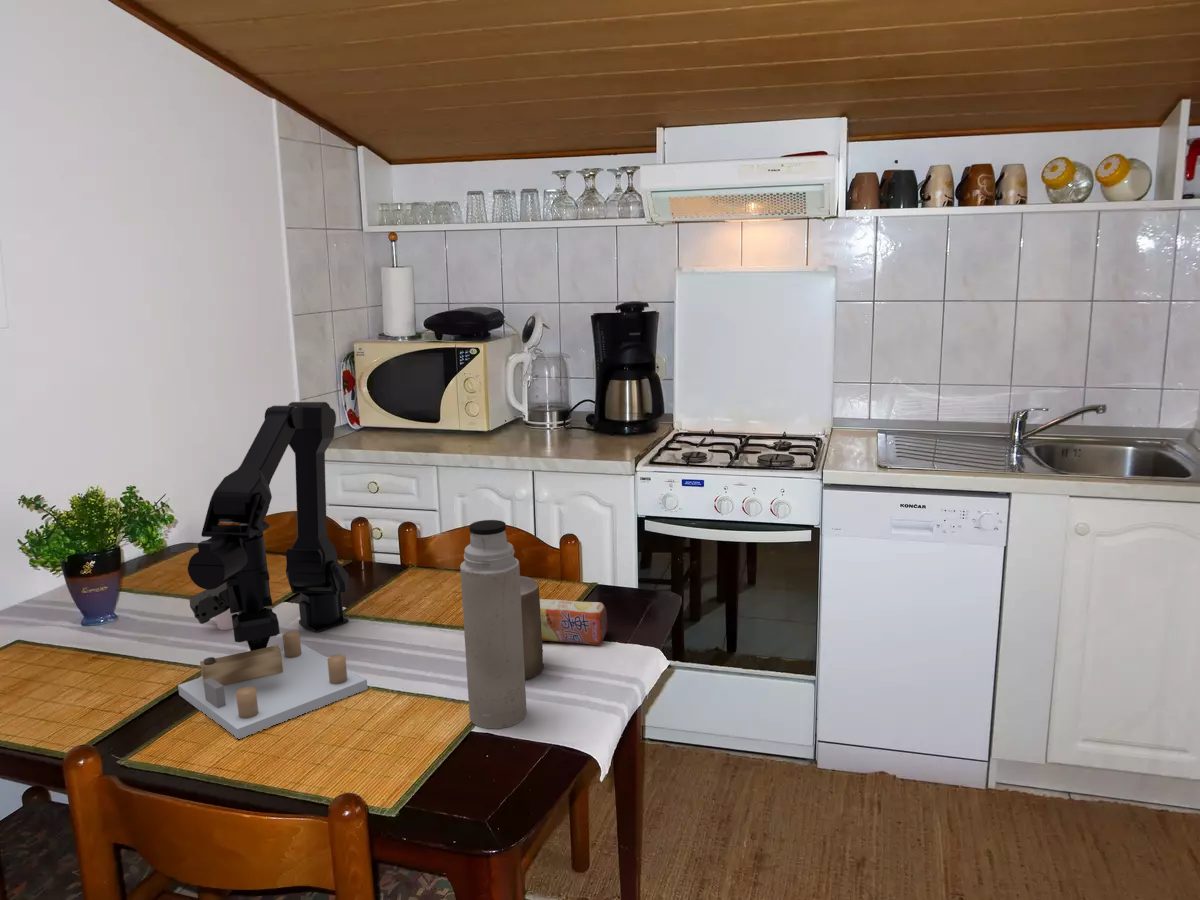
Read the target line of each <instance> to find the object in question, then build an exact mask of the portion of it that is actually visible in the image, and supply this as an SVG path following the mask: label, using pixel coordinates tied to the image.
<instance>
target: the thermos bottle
mask: <svg viewBox="0 0 1200 900" xmlns="http://www.w3.org/2000/svg"><path fill="white" fill-rule="evenodd" d="M468 527H469V532H470V535H469V537H470V538H469V540H470V542H469V544H467V546H466V547H465V548H464V554H463V559H464V561H462V562H461V564H460V567H459V568H460V581H461V582H460V584H461V600H462V617H463V632H464V633H463V635H464V647H465V649H464V650H465V663H466V664H465V665H466V666H465V667H466V679H467V680H466V681H467V696H468V697H467V698H468V712H469V720H470V722H471V723H472V724H473V725H475V726H477V727H480V728H483V729H489V730H490V729H492V730H493V729H504V728H509V727H512V726H515V725H516V724H518V723H521V721H523V720H525V717H526V716H527V693H526V679H525V671H524V650H523V630H522V609H521V589H520V576H521V573H520V572H521V571H520V561H519V560H518V558H516V557H515V556H514V554H515V549H514V546H513V545H514V544H512V543H510V542H509V541H508V539H507V533H506V529H507V524H506V522H504V521H503V520H498V519H484V520H478V521H474V522H472V523H470V524H469V526H468Z"/></svg>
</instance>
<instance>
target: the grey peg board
mask: <svg viewBox="0 0 1200 900" xmlns="http://www.w3.org/2000/svg"><path fill="white" fill-rule="evenodd" d="M300 634H301V633H300V632H299V631H297V630H291V631H286V632H284V633H283V634H282V642H283V649H280V650H281V657H282V666H283V672H280V673H276V674H271V675H267V676H262V677H258V678H254V679H249V680H245V681H240V682H236V683H232V684H227V685H222V684H220V683H219V682H217V681H216V680H214V679H213V678H209V679H206V680H203V681H204V686H203V681H202V676H201V677H197V678H195V679H192V680H190V681H186V682H182V683H180V684H177V688H178V689H177V690H178V694H179V696H180V697H181V698H183V699H184V700H185V701H186V702H188V703H189V704H190V705H192V706H194V708H196V709H197V710H198V711H200V712H201V711H202V712H203V713H202V712H201V713H202V714H203V715H205V714H206V715H207V718H209V717H210V718H211V719H210V718H209V719H210V720H212V719H213V720H214V721H215V722H217V723H218V724H219V725H221V726H222V727H223V728H225V729H226V730H227V731H229V732H230V733H231V734H233V735H234V736H235V737H236V738H235V737H234V736H233V735H232V736H233V737H234V738H235V739H237V738H238V739H239V738H243V737H245V736H247V735H250V734H253V733H255V732H257V731H260V730H263V729H264V728H268V727H271V726H272V725H275V724H278V723H280V722H283V721H286V722H288V721H287V720H288V719H291V718H294V717H296V718H298V717H297V716H299V715H301V716H303V715H302V714H304V713H306V714H308V713H307V712H309V711H311V712H313V711H312V710H314V711H316V710H315V709H317V708H319V707H322V706H324V707H326V706H325V705H327V706H329V705H331V704H330V703H332V702H334V703H336V702H335V701H337V702H339V701H341V700H340V699H342V700H344V699H343V698H345V697H347V698H349V697H348V696H350V697H352V696H354V695H353V694H355V695H356V693H357V694H359V692H360V693H362V692H364V691H367V690H368V679H366V678H365V677H363V676H361V675H360V674H357V673H356V672H354V671H352V670H350V669H349V668H347V660H346V655H343V654H335V655H331V656H329V657H327V656H325V655H323V654H321V653H319V652H317V651H315V650H313V649H311V648H309V647H308V646H306V645H304V644H302V643H301V642H302V641H301V635H300ZM351 695H352V696H351ZM345 699H346V698H345ZM338 700H339V701H338ZM328 704H329V705H328ZM332 704H333V703H332ZM322 708H323V707H322ZM319 709H320V708H319ZM317 710H318V709H317ZM309 713H310V712H309ZM206 715H205V716H206ZM304 715H305V714H304ZM299 717H300V716H299ZM294 719H295V718H294ZM213 720H212V721H213ZM291 720H292V719H291ZM214 721H213V722H214ZM215 722H214V723H215ZM217 723H216V724H217ZM283 723H284V722H283ZM218 724H217V725H218ZM219 725H218V726H219ZM278 725H279V724H278ZM221 726H220V727H221ZM222 727H221V728H222ZM223 728H222V729H223ZM271 728H272V727H271ZM225 729H224V730H225ZM268 729H269V728H268ZM226 730H225V731H226ZM227 731H226V732H227ZM263 731H264V730H263ZM229 732H228V733H229ZM260 732H261V731H260ZM230 733H229V734H230ZM231 734H230V735H231ZM255 734H256V733H255ZM253 735H254V734H253ZM250 736H251V735H250ZM245 738H246V737H245ZM238 739H237V740H238ZM243 739H244V738H243Z"/></svg>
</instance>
